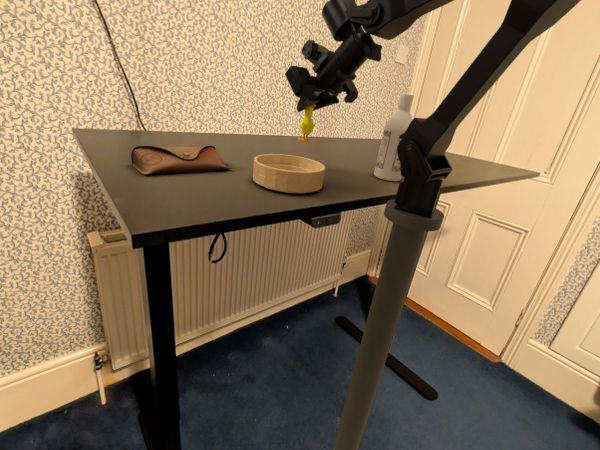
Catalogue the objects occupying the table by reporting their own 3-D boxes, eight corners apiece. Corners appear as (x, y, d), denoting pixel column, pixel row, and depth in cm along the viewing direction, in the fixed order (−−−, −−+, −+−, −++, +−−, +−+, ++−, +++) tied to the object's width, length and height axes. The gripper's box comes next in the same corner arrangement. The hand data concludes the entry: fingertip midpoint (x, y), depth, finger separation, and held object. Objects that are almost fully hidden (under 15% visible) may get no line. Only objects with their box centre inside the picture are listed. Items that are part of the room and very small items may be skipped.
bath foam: (403, 178, 84) (424, 96, 76) (398, 183, 78) (421, 95, 70) (377, 172, 87) (395, 92, 79) (370, 177, 81) (389, 91, 73)
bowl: (331, 185, 70) (335, 164, 68) (302, 201, 58) (306, 177, 56) (275, 170, 75) (277, 151, 73) (237, 182, 63) (239, 159, 61)
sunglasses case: (144, 174, 58) (136, 138, 58) (135, 183, 64) (128, 150, 64) (233, 168, 70) (226, 138, 70) (219, 177, 75) (212, 149, 75)
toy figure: (287, 137, 78) (293, 84, 74) (297, 137, 81) (303, 85, 76) (308, 143, 74) (316, 87, 70) (318, 142, 77) (326, 88, 72)
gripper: (357, 37, 72) (315, 86, 84) (296, 17, 60) (257, 78, 71) (379, 78, 70) (333, 122, 82) (321, 66, 58) (276, 120, 69)
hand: (302, 110), depth 76 cm, fingers closed on toy figure, 2 cm apart
